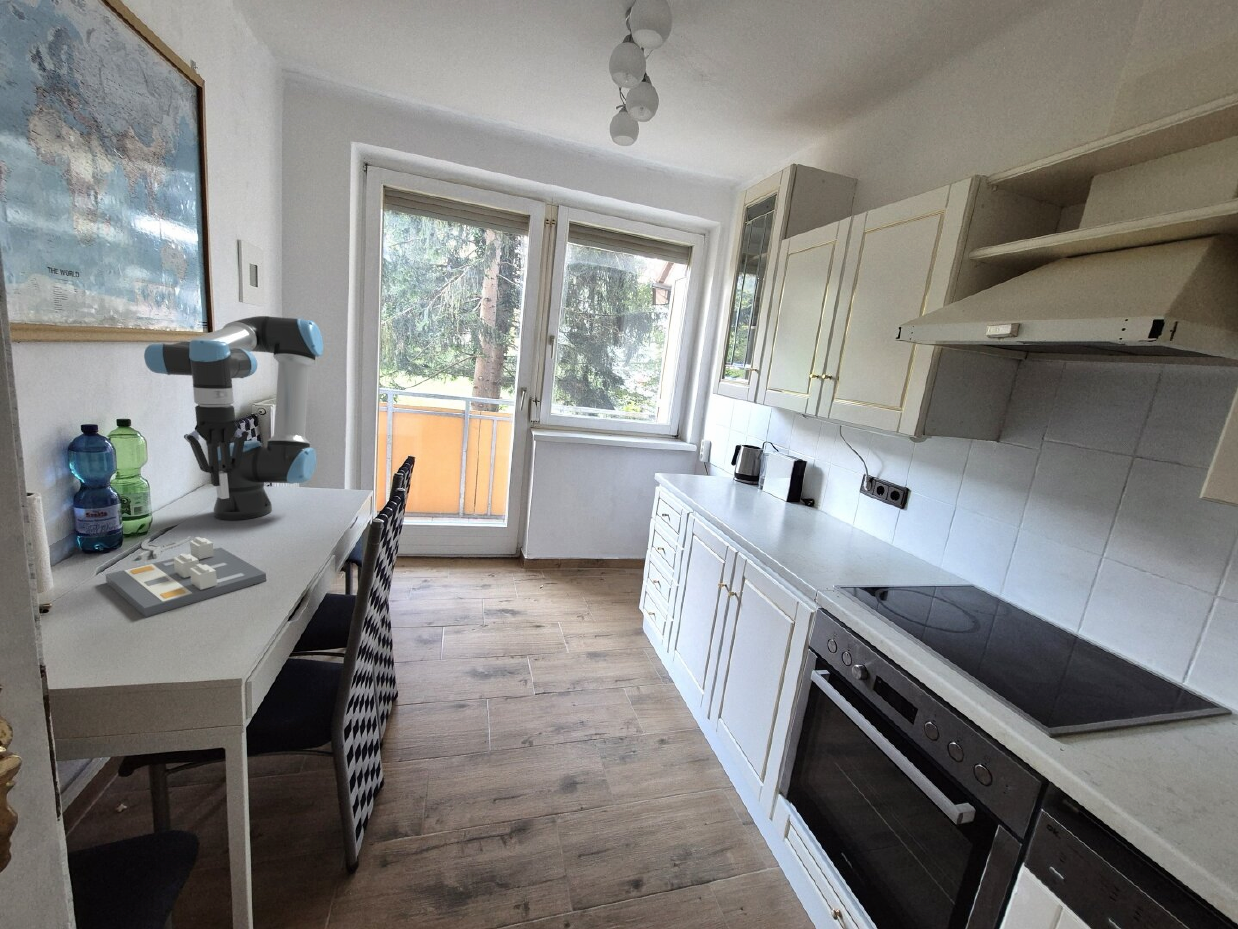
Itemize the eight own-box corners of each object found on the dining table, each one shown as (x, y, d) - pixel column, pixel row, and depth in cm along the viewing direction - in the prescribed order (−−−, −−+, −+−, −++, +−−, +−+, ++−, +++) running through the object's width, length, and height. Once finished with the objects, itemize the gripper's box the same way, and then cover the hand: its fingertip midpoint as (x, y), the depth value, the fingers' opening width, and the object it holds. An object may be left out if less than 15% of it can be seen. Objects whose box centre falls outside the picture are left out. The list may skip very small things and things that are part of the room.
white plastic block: (207, 578, 115) (205, 561, 114) (217, 585, 113) (215, 568, 112) (191, 583, 113) (189, 566, 112) (200, 589, 110) (199, 572, 109)
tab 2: (191, 567, 120) (189, 551, 119) (200, 573, 117) (198, 557, 116) (175, 571, 117) (173, 555, 116) (183, 577, 115) (182, 561, 114)
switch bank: (221, 554, 133) (220, 546, 133) (266, 581, 121) (265, 572, 120) (106, 582, 115) (105, 573, 114) (145, 617, 102) (144, 607, 102)
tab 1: (205, 550, 129) (203, 535, 128) (213, 555, 127) (212, 540, 126) (190, 554, 127) (189, 538, 126) (199, 559, 124) (197, 543, 123)
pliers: (192, 532, 142) (172, 552, 129) (192, 538, 143) (172, 558, 130) (146, 535, 138) (121, 556, 125) (147, 540, 139) (122, 562, 125)
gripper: (187, 407, 116) (198, 505, 121) (252, 405, 127) (259, 495, 132) (174, 404, 120) (185, 499, 125) (238, 402, 131) (245, 489, 136)
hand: (223, 497), depth 128 cm, fingers closed
